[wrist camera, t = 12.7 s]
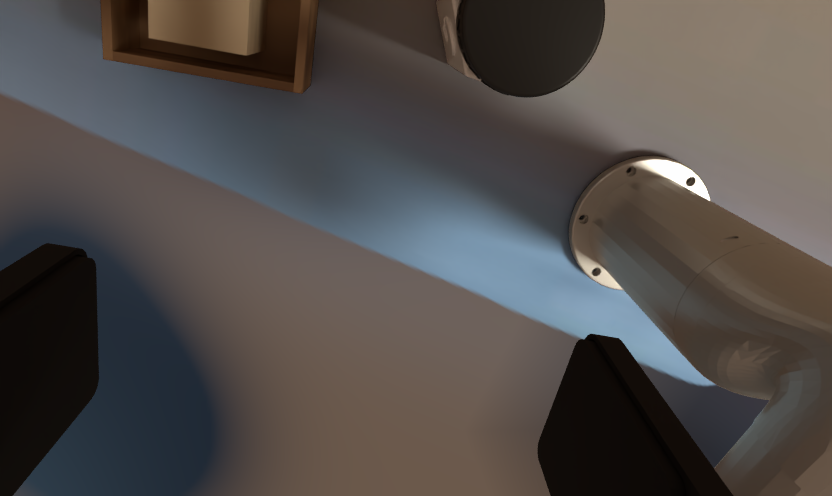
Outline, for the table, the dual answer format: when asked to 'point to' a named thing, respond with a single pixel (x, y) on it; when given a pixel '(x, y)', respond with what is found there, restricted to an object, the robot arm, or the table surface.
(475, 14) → the jar
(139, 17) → the box
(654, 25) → the table surface
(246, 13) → the beech block
